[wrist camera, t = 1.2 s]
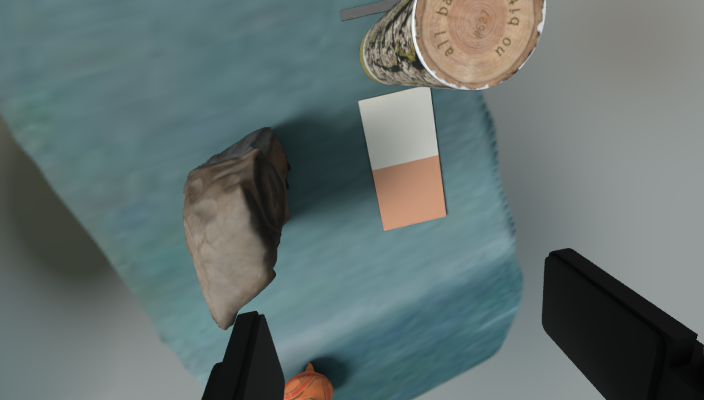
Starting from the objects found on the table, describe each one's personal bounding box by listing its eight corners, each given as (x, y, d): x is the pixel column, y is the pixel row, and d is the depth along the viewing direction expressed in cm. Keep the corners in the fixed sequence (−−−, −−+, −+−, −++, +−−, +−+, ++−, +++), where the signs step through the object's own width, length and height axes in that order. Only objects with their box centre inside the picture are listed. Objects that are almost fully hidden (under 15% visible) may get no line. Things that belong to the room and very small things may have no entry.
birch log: (351, 74, 41) (395, 68, 17) (368, 13, 39) (443, -87, 15) (404, 91, 42) (511, 106, 18) (423, 33, 40) (570, -33, 16)
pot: (279, 359, 54) (285, 394, 48) (327, 351, 56) (338, 383, 50) (279, 399, 56) (285, 437, 50) (324, 388, 59) (335, 423, 53)
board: (339, 11, 38) (340, 10, 38) (417, -7, 38) (417, -7, 38) (384, 229, 48) (384, 230, 48) (445, 215, 48) (446, 216, 48)
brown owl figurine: (274, 117, 42) (237, 149, 23) (326, 201, 46) (330, 285, 27) (189, 167, 43) (86, 236, 24) (247, 244, 47) (199, 354, 28)
